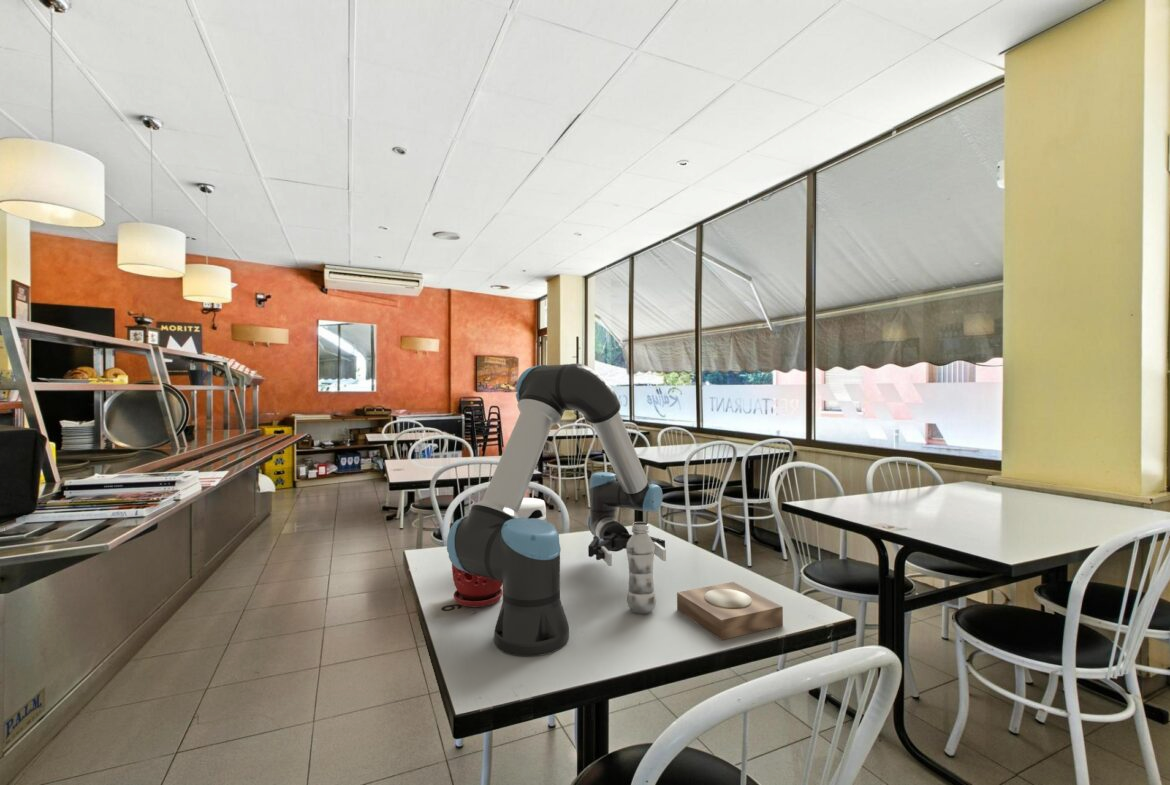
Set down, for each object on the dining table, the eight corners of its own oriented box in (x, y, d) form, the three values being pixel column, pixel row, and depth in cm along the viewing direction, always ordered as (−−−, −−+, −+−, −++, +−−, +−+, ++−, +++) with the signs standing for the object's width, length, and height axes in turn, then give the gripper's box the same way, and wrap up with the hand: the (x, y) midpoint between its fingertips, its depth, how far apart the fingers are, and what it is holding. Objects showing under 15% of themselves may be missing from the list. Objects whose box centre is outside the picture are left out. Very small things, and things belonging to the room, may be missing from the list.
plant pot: (480, 616, 115) (480, 562, 115) (440, 603, 122) (440, 553, 122) (518, 596, 126) (517, 547, 126) (479, 586, 133) (479, 540, 133)
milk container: (484, 559, 156) (483, 500, 156) (537, 551, 163) (537, 495, 163) (499, 577, 140) (498, 511, 140) (558, 567, 147) (557, 505, 148)
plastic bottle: (661, 614, 115) (660, 525, 115) (634, 619, 112) (633, 528, 113) (647, 603, 121) (646, 519, 121) (622, 608, 118) (621, 521, 119)
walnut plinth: (721, 640, 102) (721, 618, 102) (677, 609, 117) (676, 590, 117) (782, 625, 109) (782, 604, 109) (733, 598, 123) (733, 580, 123)
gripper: (654, 544, 145) (686, 568, 124) (568, 551, 139) (586, 578, 118) (654, 518, 145) (686, 537, 124) (568, 523, 139) (586, 545, 118)
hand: (637, 557), depth 121 cm, fingers open, 13 cm apart
